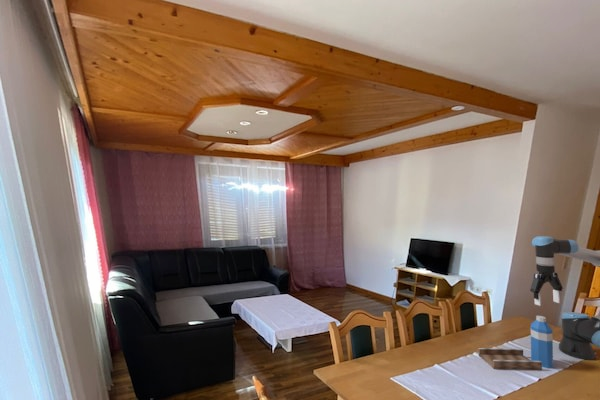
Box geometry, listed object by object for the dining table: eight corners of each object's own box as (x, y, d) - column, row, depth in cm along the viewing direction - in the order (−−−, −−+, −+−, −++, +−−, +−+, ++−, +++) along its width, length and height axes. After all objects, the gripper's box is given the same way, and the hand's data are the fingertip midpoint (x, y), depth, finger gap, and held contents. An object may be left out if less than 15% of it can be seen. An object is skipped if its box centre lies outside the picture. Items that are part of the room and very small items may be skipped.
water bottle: (557, 369, 145) (556, 321, 146) (537, 367, 147) (536, 319, 148) (545, 359, 154) (545, 314, 155) (526, 357, 156) (526, 313, 157)
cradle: (522, 356, 158) (522, 349, 158) (541, 370, 144) (541, 361, 145) (478, 355, 158) (478, 348, 158) (494, 369, 145) (494, 360, 145)
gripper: (554, 261, 159) (556, 299, 158) (520, 264, 153) (522, 303, 152) (570, 264, 152) (572, 303, 151) (534, 267, 146) (537, 308, 145)
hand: (547, 303), depth 151 cm, fingers open, 13 cm apart
